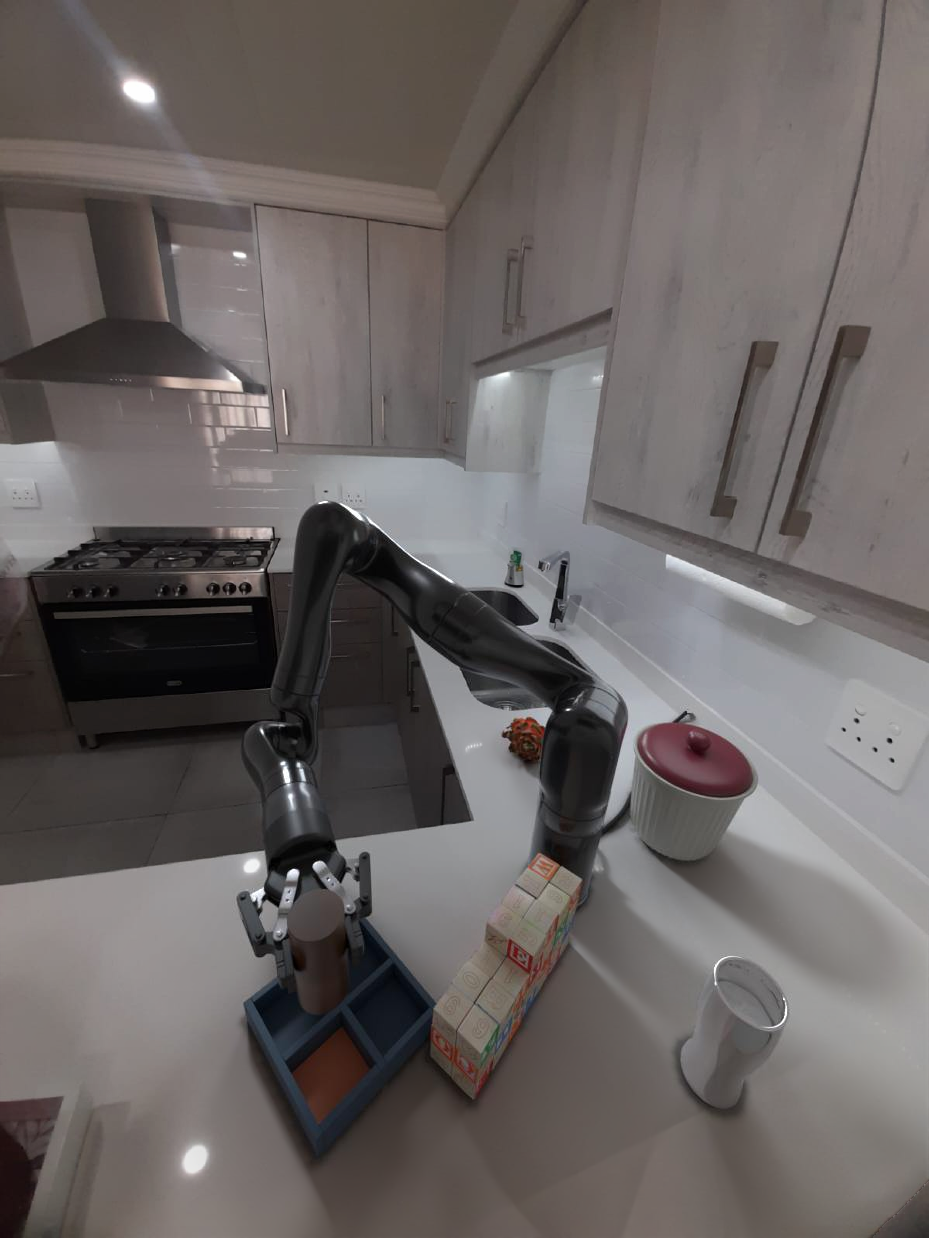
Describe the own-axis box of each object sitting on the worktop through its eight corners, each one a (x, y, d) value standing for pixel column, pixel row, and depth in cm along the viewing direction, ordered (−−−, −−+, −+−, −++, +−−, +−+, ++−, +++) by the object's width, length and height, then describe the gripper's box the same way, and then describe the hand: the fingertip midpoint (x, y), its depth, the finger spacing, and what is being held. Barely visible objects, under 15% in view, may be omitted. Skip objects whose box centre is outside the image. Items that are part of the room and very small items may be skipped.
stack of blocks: (474, 1104, 50) (482, 1037, 45) (428, 1056, 53) (431, 989, 48) (569, 941, 65) (583, 877, 60) (529, 912, 69) (539, 850, 64)
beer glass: (752, 1070, 53) (798, 989, 47) (734, 1134, 49) (783, 1052, 43) (688, 1019, 58) (723, 938, 51) (666, 1073, 53) (701, 991, 47)
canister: (629, 875, 75) (659, 768, 66) (605, 790, 92) (627, 695, 83) (748, 886, 75) (794, 779, 66) (702, 798, 91) (734, 704, 82)
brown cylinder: (332, 949, 52) (326, 878, 47) (359, 987, 49) (355, 915, 44) (288, 985, 48) (276, 912, 44) (313, 1027, 45) (304, 954, 41)
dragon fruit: (530, 781, 95) (512, 748, 106) (565, 755, 95) (543, 725, 106) (507, 752, 92) (491, 722, 103) (544, 725, 92) (523, 698, 103)
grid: (361, 928, 65) (360, 910, 64) (438, 1024, 56) (439, 1006, 54) (246, 1020, 55) (242, 1002, 54) (318, 1158, 46) (315, 1140, 44)
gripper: (226, 826, 53) (231, 983, 39) (356, 790, 59) (401, 915, 45) (235, 874, 56) (243, 1034, 42) (358, 835, 62) (401, 965, 48)
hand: (325, 972), depth 44 cm, fingers closed on brown cylinder, 5 cm apart
